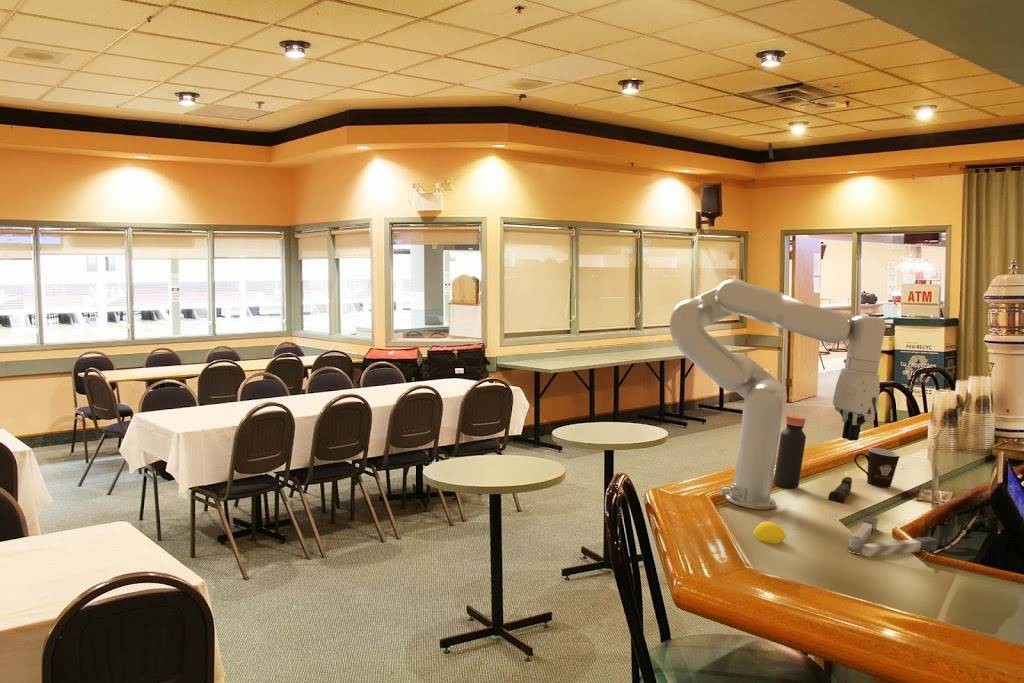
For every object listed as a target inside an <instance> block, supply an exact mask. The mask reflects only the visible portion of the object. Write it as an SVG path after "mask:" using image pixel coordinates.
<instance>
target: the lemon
mask: <svg viewBox="0 0 1024 683" xmlns="http://www.w3.org/2000/svg"><path fill="white" fill-rule="evenodd" d="M753 534H754V537H755V538H756V540H758V541H760V542H762V543H766V544H772V545H778V544H781V543H782V541H784V539H786V537H787V535H786V534H785V532H784V531H783V529H782V528H781V526H779V525H778V524H777V523H775V522H772V521H768V520H767V521H763V522H760V523H759V524H758V525H756V527H755V528H754V530H753Z"/></svg>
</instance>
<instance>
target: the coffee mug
mask: <svg viewBox="0 0 1024 683" xmlns="http://www.w3.org/2000/svg"><path fill="white" fill-rule="evenodd" d="M867 453H868V455H867V454H866V453H863V452H861V453H857V454H855V456H854V459H853V460H854V463H855V465H856V466H857V467H858V468H859V469H860V470H861V471H862V472H864V473H865V474H866V476H867V480H866V483H867V484H868V485H869V486H873V487H877V488H882V489H883V488H884V489H889V488H888V487H890V488H891V485H892V483H893V479H894V476H895V472H896V469H897V466H898V462H899V460H900V458H901V454H900V453H898V452H895V451H893V450H890V449H889V450H887V449H884V448H877V447H876V448H875V447H874V448H873V447H871V448H870V447H869V448H868V451H867ZM860 456H863V457H865V458H866V460H867V470H866V469H865V468H863V467H862V466H860V464H859V463H858V462H857V458H858V457H860Z"/></svg>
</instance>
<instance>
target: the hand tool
mask: <svg viewBox="0 0 1024 683" xmlns="http://www.w3.org/2000/svg"><path fill="white" fill-rule="evenodd" d="M852 483H853V479H852V477H850V476H845V477H843V478H842V480H841V482H840V484H839V485H838V486H837V487H836V488H835V489H834V490H832V491H830V492H829V494H828V497H827V498H828V499H827V501H830V502H834V503H839V504H843V505H844V502H845V500H846V499H847V497H848V496H850V494H851V490H852Z"/></svg>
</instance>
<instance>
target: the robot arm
mask: <svg viewBox="0 0 1024 683" xmlns="http://www.w3.org/2000/svg"><path fill="white" fill-rule="evenodd" d="M733 315H738V316H741V317H745V318H746V319H751V320H754V321H758V322H760V323H764V324H765V325H770V326H773V327H774V328H775V327H776V328H779V329H782V330H787V331H789V332H791V333H792V332H793V333H795V334H799V335H802V336H804V337H809V338H810V339H815V340H818V341H821V342H824V343H828V344H838V343H840V342H848V346H847V353H846V357H844V359H843V363H844V368H841V370H840V372H839V375H838V378H837V381H836V384H835V388H834V394H833V399H832V405H833V406H834V410H835V411H836V412H837V413H839V414H840V415H841V417H842V422H843V429H842V436H841V438H842V439H843V440H848V441H850V442H853V441H854V442H855V441H856V442H857V441H859V437H860V432H861V428H862V426H864V424H865V423H866V422H868V421H875V419H876V417H875V416H876V415H875V414H876V413H877V411H878V406H879V399H880V386H881V385H880V375H879V368H880V363H881V362H880V361H881V356H882V349H883V344H884V337H885V332H886V322H885V320H884V318H881V317H878V316H871V315H865V314H864V315H863V314H862V315H859V314H858V315H855V314H851V313H847V312H843V311H839V310H828V309H825V308H821V307H818V306H814V305H812V304H808V303H805V302H802V301H800V300H797V299H795V298H793V297H792V296H790V295H788V294H786V293H783V292H781V291H780V292H779V291H776V290H773V289H769V288H765V287H763V286H759V285H755V284H751V283H748V282H746V281H745V280H742V279H738V278H735V279H734V278H732V279H731V278H730V279H726V280H723V281H722V282H721V283H720V284H719V285H718V286H717V287H715V288H713V289H711V290H708V291H707V292H705V293H701V294H700V295H698V296H695V297H694V298H686V299H683V300H682V301H680V302H679V303H677V305H675V307H674V309H673V311H672V313H671V316H670V320H669V331H670V335H671V339H672V341H673V343H674V344H675V346H676V347H677V349H678V350H679V352H681V353H682V355H684V356H685V357H686V358H687V359H688V360H689V361H691V362H692V363H693V364H694V365H695V366H696V367H698V368H699V370H701V371H702V372H703V373H704V374H705V375H706V376H708V377H709V378H710V379H712V381H713V382H715V383H716V384H717V385H718V386H719V387H720V388H721V389H723V390H725V391H728V392H736V393H737V394H738V395H739V396H741V397H742V398H743V399H744V401H743V407H742V417H741V419H742V420H741V427H740V434H739V435H740V436H739V443H738V444H739V445H738V450H737V457H736V465H735V471H734V478H733V482H730V483H729V484H730V485H729V486H727V487H726V486H725V487H718V489H717V492H718V495H720V496H726V497H725V499H726V500H727V501H728V502H730V503H732V504H734V505H737V506H740V507H743V508H747V509H752V510H753V509H754V510H773V509H774V508H776V504H777V503H776V500H774V498H772V497H771V493H772V487H773V482H774V476H775V469H776V462H777V456H778V449H779V442H780V435H781V427H782V426H781V425H782V419H783V418H782V417H783V413H784V408H785V406H786V404H787V400H788V394H787V391H786V388H785V387H784V385H783V384H782V383H781V382H780V381H779V380H778V379H776V378H775V377H774V376H773V375H772V374H771V373H769V372H768V371H767V370H765V369H764V368H763V367H762V366H760V365H759V364H758V363H757V362H756V361H754V360H753V359H752V358H751V357H749V356H747V355H746V354H744V353H740V352H732V351H731V350H729V349H728V348H727V347H725V346H724V345H723V344H721V342H720V341H719V340H717V339H716V338H715V337H713V336H712V335H710V334H709V333H708V332H707V331H706V330H705V328H706V327H708V326H710V325H712V324H715V323H717V322H720V321H721V320H724V319H725V318H728V317H730V316H733Z"/></svg>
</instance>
